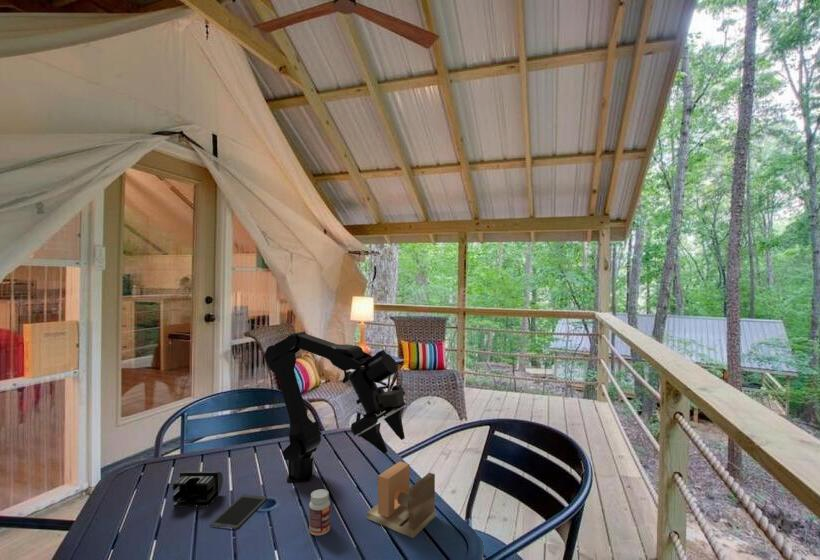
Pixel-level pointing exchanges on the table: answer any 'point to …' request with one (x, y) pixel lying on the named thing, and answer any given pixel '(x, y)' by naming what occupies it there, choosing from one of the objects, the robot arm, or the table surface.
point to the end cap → (197, 488)
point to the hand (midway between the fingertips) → (394, 445)
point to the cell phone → (239, 511)
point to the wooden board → (392, 488)
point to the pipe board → (411, 508)
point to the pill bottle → (319, 512)
